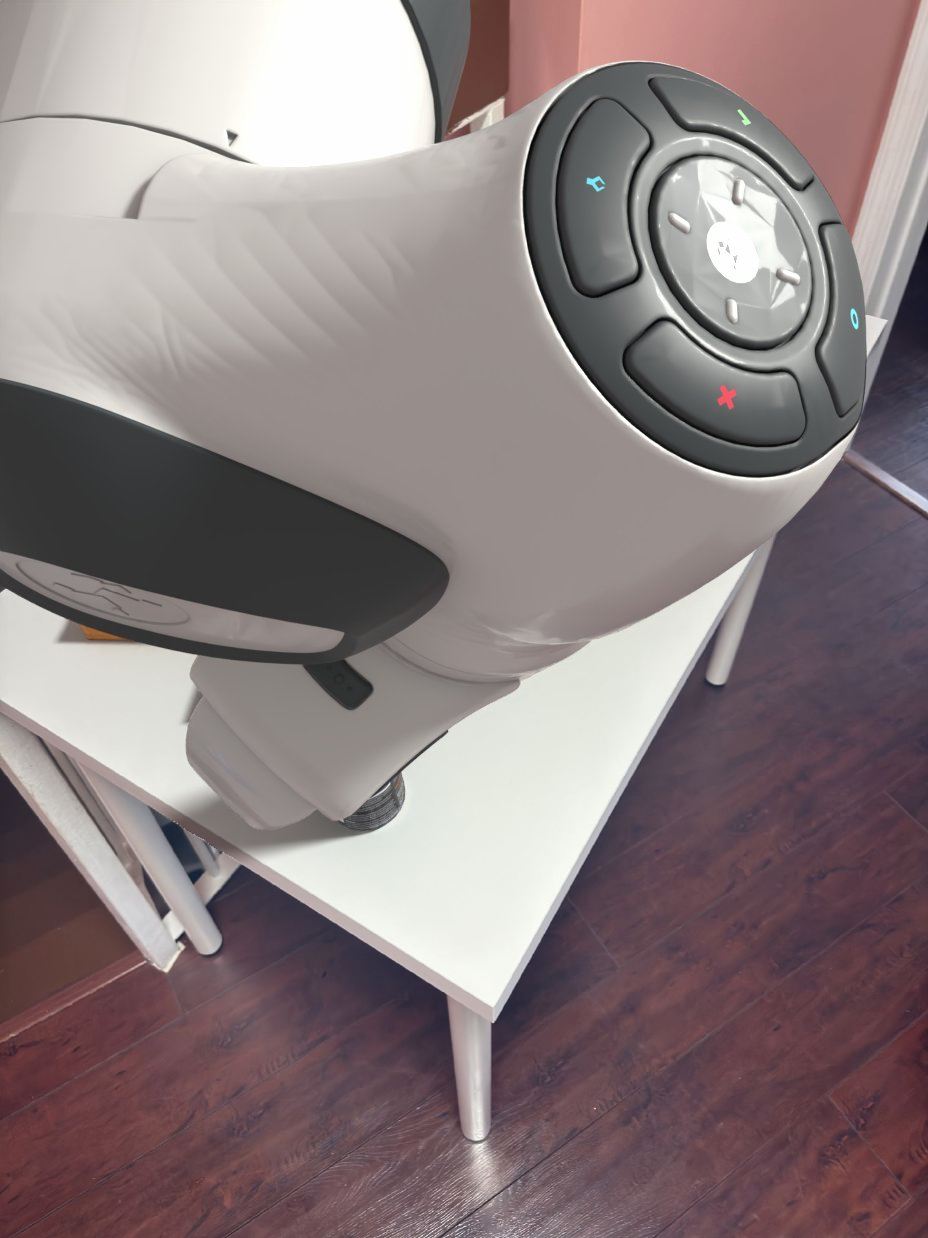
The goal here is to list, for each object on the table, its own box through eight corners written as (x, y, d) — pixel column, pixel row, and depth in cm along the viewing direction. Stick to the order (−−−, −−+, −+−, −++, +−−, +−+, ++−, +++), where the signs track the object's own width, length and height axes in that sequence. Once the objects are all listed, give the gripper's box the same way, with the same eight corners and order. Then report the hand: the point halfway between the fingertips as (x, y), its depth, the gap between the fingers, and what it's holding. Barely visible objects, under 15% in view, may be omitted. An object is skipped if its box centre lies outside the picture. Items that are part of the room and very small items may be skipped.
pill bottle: (350, 757, 72) (322, 667, 64) (418, 777, 71) (399, 688, 62) (315, 820, 69) (281, 734, 60) (386, 843, 67) (361, 758, 59)
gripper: (595, 301, 32) (485, 455, 45) (141, 705, 25) (165, 749, 38) (719, 429, 32) (574, 546, 45) (302, 866, 25) (271, 856, 38)
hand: (384, 641), depth 42 cm, fingers open, 8 cm apart
